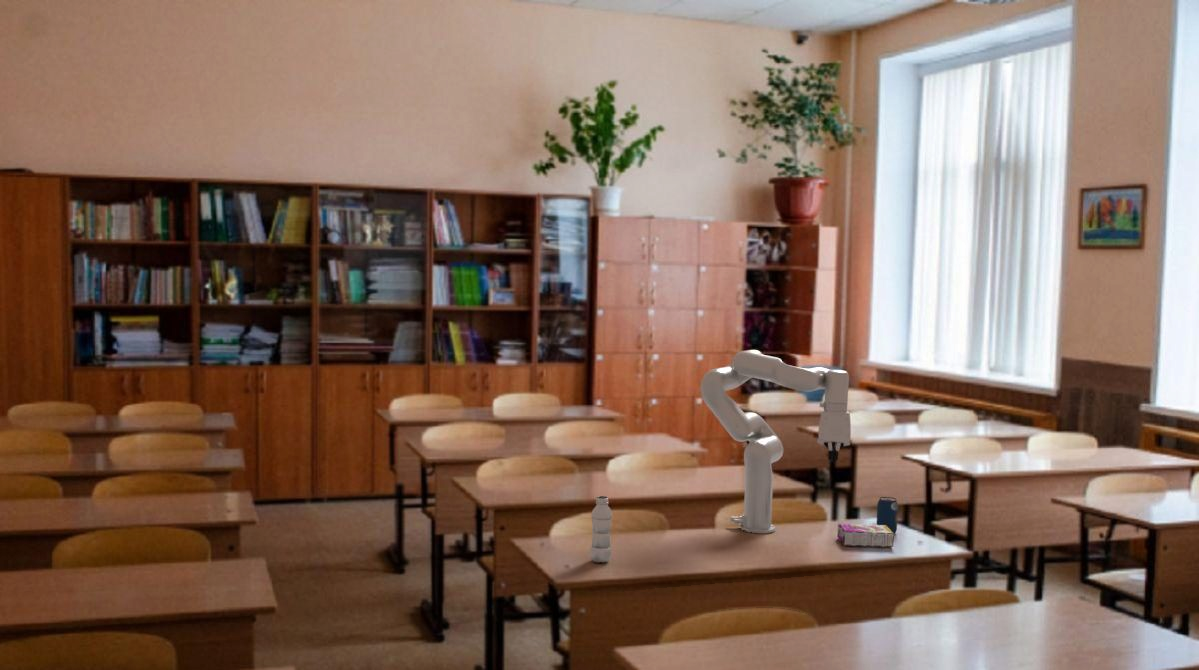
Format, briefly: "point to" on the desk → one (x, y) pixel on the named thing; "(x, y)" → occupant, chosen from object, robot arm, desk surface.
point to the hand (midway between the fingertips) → (832, 461)
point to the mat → (869, 546)
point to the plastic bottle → (601, 531)
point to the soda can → (887, 513)
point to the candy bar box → (865, 535)
